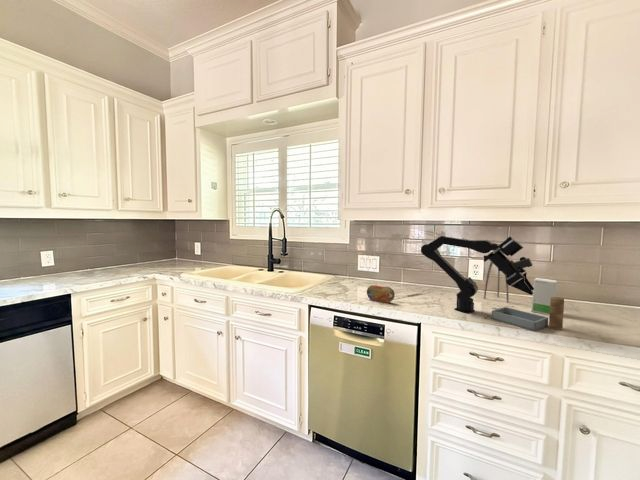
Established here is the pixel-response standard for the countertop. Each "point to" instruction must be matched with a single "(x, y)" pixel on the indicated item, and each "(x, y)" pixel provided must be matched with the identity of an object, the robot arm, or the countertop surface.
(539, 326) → the tray
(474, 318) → the countertop surface
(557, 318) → the brown block
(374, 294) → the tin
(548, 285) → the skincare box
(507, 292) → the juicer
